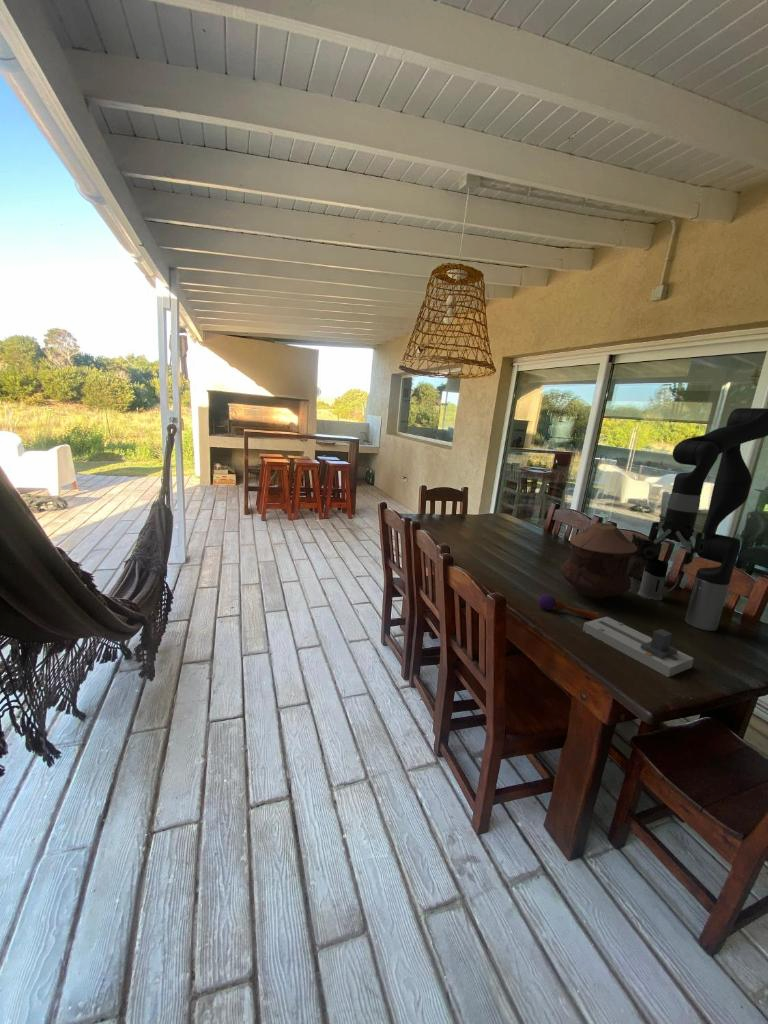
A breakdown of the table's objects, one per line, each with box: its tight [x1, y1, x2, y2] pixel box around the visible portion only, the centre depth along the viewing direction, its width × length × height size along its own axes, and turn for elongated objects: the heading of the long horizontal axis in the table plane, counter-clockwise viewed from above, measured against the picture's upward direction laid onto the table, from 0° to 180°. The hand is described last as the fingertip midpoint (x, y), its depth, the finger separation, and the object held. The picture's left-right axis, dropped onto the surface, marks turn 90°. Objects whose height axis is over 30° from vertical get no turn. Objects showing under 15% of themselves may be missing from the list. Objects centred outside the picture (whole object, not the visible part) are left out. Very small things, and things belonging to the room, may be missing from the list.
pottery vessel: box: [560, 522, 638, 600], centre depth 162 cm, size 26×26×30 cm
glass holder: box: [637, 559, 680, 601], centre depth 164 cm, size 9×14×15 cm, turn 15°
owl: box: [627, 533, 660, 582], centre depth 187 cm, size 13×13×20 cm
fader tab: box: [641, 628, 679, 659], centre depth 119 cm, size 8×6×6 cm
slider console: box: [582, 616, 694, 678], centre depth 126 cm, size 12×27×3 cm, turn 27°
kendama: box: [538, 593, 600, 621], centre depth 147 cm, size 6×6×20 cm
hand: (670, 559), depth 125 cm, fingers open, 8 cm apart
